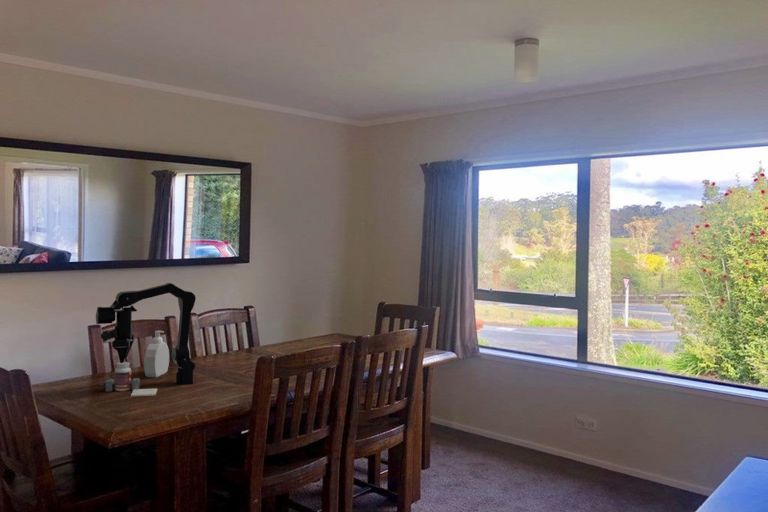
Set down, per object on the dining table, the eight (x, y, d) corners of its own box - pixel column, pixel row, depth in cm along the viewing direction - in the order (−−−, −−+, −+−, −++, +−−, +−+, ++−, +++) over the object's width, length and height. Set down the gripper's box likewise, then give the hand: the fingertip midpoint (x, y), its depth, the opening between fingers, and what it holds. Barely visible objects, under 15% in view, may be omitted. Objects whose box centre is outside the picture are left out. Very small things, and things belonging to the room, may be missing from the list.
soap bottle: (155, 378, 265) (156, 333, 265) (143, 378, 265) (144, 333, 265) (170, 370, 281) (170, 328, 281) (158, 370, 281) (159, 328, 281)
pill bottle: (132, 390, 244) (132, 363, 244) (116, 392, 241) (116, 365, 241) (129, 387, 250) (129, 360, 249) (113, 388, 246) (113, 362, 246)
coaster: (157, 389, 246) (157, 388, 246) (155, 395, 237) (155, 394, 237) (133, 390, 244) (133, 389, 244) (130, 396, 235) (130, 395, 235)
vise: (140, 385, 252) (140, 376, 252) (138, 390, 245) (138, 380, 244) (101, 387, 248) (101, 377, 248) (97, 392, 240) (97, 382, 240)
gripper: (106, 319, 251) (106, 356, 252) (98, 326, 233) (97, 366, 234) (135, 319, 254) (134, 356, 255) (128, 325, 237) (128, 365, 237)
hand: (123, 360), depth 245 cm, fingers open, 9 cm apart
